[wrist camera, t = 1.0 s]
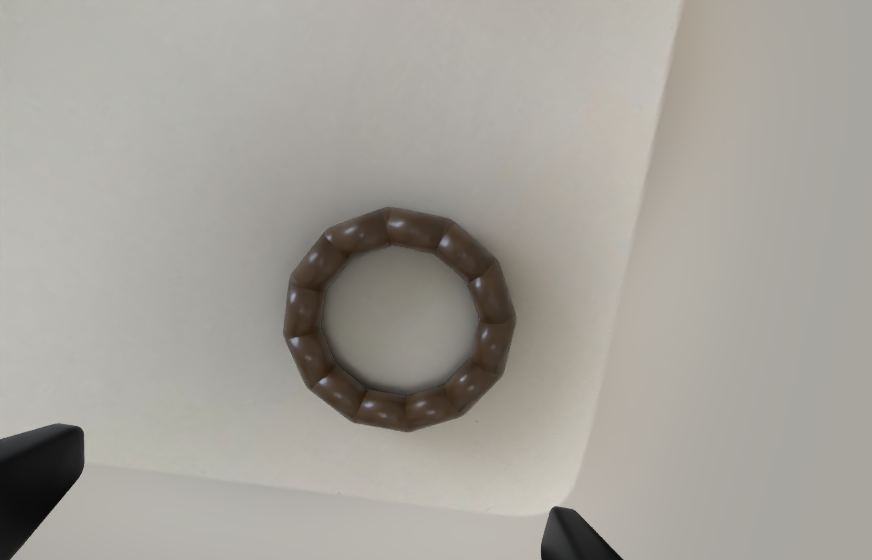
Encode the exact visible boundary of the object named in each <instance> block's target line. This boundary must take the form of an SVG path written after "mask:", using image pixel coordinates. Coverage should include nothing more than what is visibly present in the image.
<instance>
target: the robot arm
mask: <svg viewBox="0 0 872 560" xmlns="http://www.w3.org/2000/svg"><path fill="white" fill-rule="evenodd" d="M83 468H84V432H83V430H82V429H81V428H80V427H78V426H73V425H67V424H60V423H59V424H52V425H49V426H45V427H42V428H38V429H35V430H31V431H28V432H24V433H21V434H17V435H14V436H10V437H7V438H3V439H0V560H10V559H11V558H12V557H13V555H14V554H15V553H16V552H17V551H18V550H19V549H20V548H21V546H22V545H23V544H24V543H25V542H26V541H27V539H28V538H29V537H30V536H31V535H32V533H33V532H34V531H35V530H36V529H37V527H38V526H39V525H40V524H41V523H42V521H43V520H44V519H45V518H46V517H47V515H48V514H49V513H50V512H51V511H52V509H53V508H54V507H55V506H56V505H57V503H58V502H59V501H60V500H61V499H62V497H63V496H64V495H65V494H66V493H67V491H68V490H69V489H70V488H71V487H72V485H73V484H74V483H75V482H76V480H77V479H78V478H79V477H80V475H81V473H82V470H83ZM541 559H542V560H623V559H622V558H621V557H620V556H619V555H618V554H617V553H616V552H615V551H614V550H613V549H612V548H611V547H610V546H609V545H608V544H607V542H605V540H603V538H602V537H601V536H599V534H598V533H597V532H596V531H595V530H594V529H593V528H592V527H591V526H590V525H589V524H588V523H587V522H586V521H585V520H584V519H583V518H582V517H581V516H580V515H579V514H578V513H577V512H576V511H575V510H573V509H569V508H563V507H557V506H555V507H553V508H552V509H551V511H550V513H549V517H548V521H547V524H546V528H545V531H544V535H543V539H542V544H541Z"/></svg>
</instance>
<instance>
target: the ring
mask: <svg viewBox="0 0 872 560" xmlns="http://www.w3.org/2000/svg"><path fill="white" fill-rule="evenodd" d="M388 246H397V247H402V248H407V249H412V250H418V251H423V252H428V253H433V254H435V255H436V256H437V257H438V258H440V259H441V260H442V261H443V262H444V263H446V264H447V265H448V266H449V267H450V268H451V269H453V270H454V271H455V272H456V273H457V274H458V275H460V276H461V277H462V278H463V279H464V280H465V281H467V284H468V287H469V290H470V293H471V296H472V299H473V302H474V305H475V308H476V311H477V314H478V317H479V324H478V328H477V333H476V337H475V342H474V346H473V351H472V355H471V358H470V359H469V360H468V361H467V362H466V363H465V364H464V365H463V366H462V367H461V368H460V369H459V370H458V371H457V372H456V373H455V374H454V375H453V377H452V378H451V379H450V380H449V381H448V382H447V383H446V384H445V385H442V386H439V387H436V388H433V389H429V390H426V391H423V392H420V393H416V394H413V395H410V396H402V395H397V394H391V393H386V392H380V391H375V390H370V389H367V388H365V387H364V386H363V385H362V384H360V383H359V382H358V381H356V380H355V379H354V378H353V377H351V376H350V375H349V374H347V373H346V372H345V371H344V370H342V369H341V368H340V367H339V366H337V365H336V364H335V361H334V359H333V357H332V354H331V352H330V349H329V347H328V345H327V342H326V340H325V338H324V335H323V333H322V331H321V321H322V314H323V306H324V299H325V292H326V289H327V288H328V287H329V285H330V284H331V283H332V282H333V281H334V279H335V278H336V277H337V276H338V275H339V273H340V272H341V271H342V270H343V269H344V267H345V266H346V265H347V264H348V263H349V261H350V260H351V259H354V258H356V257H359V256H362V255H365V254H368V253H371V252H374V251H377V250H379V249H382V248H385V247H388ZM515 324H516V314H515V310H514V307H513V304H512V301H511V298H510V295H509V292H508V289H507V286H506V283H505V279H504V276H503V273H502V270H501V267H500V264H499V262H498V260H497V259H496V258H495V257H494V256H493V255H492V254H491V253H489V252H488V251H487V250H486V249H485V248H484V247H483V246H481V245H480V244H479V243H478V242H477V241H476V240H475V239H473V238H472V237H471V236H470V235H469V234H468V233H467V232H465V231H464V230H463V229H462V228H461V227H460V226H459V225H457V224H456V223H455V222H454V221H452V220H451V219H448V218H444V217H439V216H434V215H429V214H424V213H418V212H413V211H408V210H403V209H398V208H392V207H386V208H382V209H380V210H377V211H374V212H371V213H368V214H365V215H363V216H360V217H357V218H354V219H351V220H349V221H346V222H343V223H340V224H337V225H335V226H332V227H330V228H329V229H327V230H326V231H325V232H324V233H323V235H322V236H321V237H320V238H319V240H318V241H317V242H316V243H315V245H314V246H313V247H312V248H311V250H310V251H309V252H308V253H307V255H306V256H305V257H304V258H303V260H302V261H301V262H300V263H299V265H298V266H297V267H296V268H295V270H294V271H293V272H292V274H291V276H290V279H289V286H288V294H287V303H286V311H285V320H284V328H283V335H284V338H285V341H286V343H287V345H288V347H289V350H290V352H291V354H292V356H293V359H294V361H295V363H296V365H297V368H298V370H299V372H300V374H301V376H302V379H303V381H304V383H305V385H306V387H307V388H308V389H309V390H310V391H312V392H313V393H314V394H316V395H317V396H318V397H319V398H321V399H322V400H323V401H325V402H326V403H327V404H329V405H330V406H331V407H333V408H334V409H335V410H336V411H338V412H339V413H340V414H342V415H343V416H344V417H346V418H347V419H348V420H350V421H351V422H354V423H358V424H363V425H369V426H374V427H380V428H385V429H391V430H396V431H402V432H413V431H416V430H419V429H422V428H426V427H429V426H432V425H436V424H439V423H442V422H445V421H449V420H452V419H455V418H459V417H461V416H463V415H464V414H466V413H467V412H468V411H469V410H470V409H471V408H472V407H473V406H474V404H475V403H476V402H477V401H478V400H479V399H480V398H481V397H482V396H483V395H484V394H485V393H486V392H487V391H488V390H489V389H490V388H491V387H492V386H493V385H494V384H495V383H496V382H497V381H498V380H499V379H500V378H501V376H502V375H503V373H504V370H505V366H506V361H507V357H508V353H509V349H510V345H511V341H512V337H513V333H514V328H515Z"/></svg>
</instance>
